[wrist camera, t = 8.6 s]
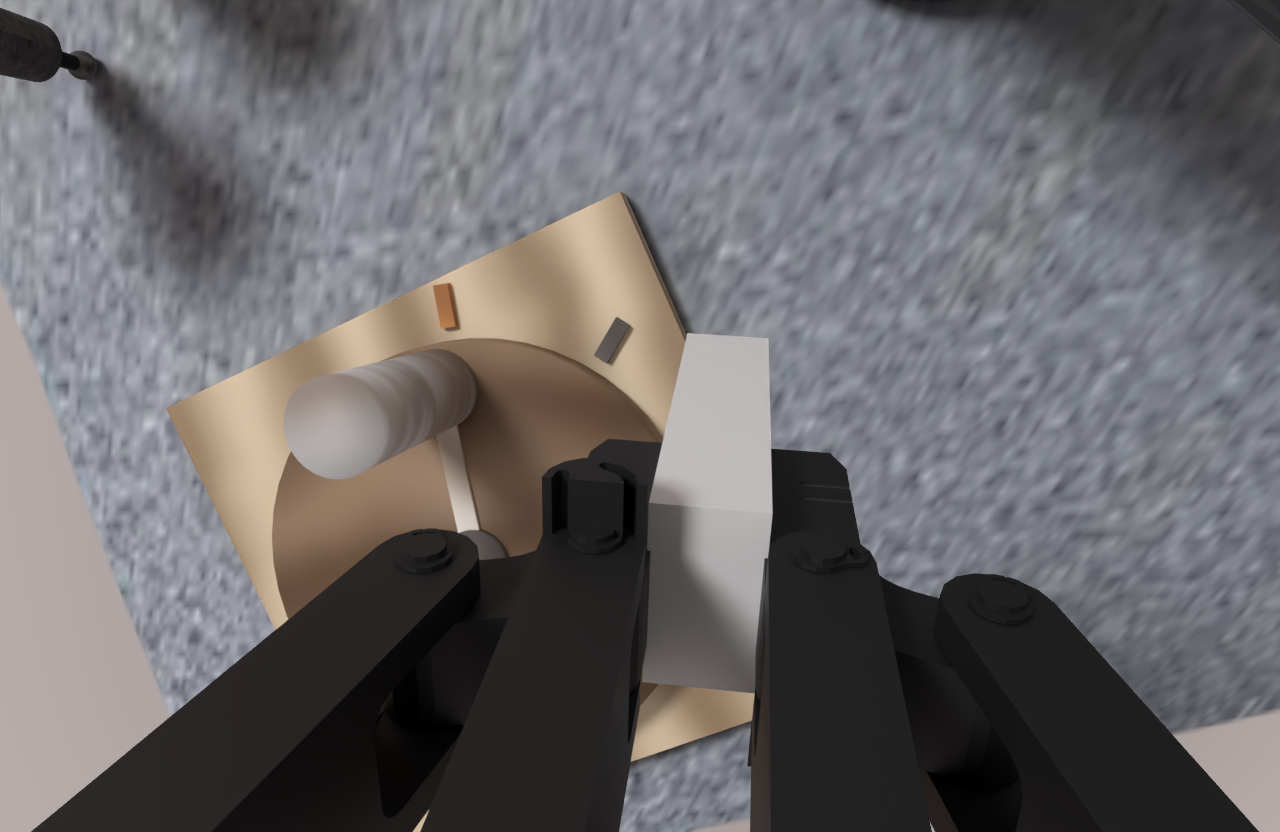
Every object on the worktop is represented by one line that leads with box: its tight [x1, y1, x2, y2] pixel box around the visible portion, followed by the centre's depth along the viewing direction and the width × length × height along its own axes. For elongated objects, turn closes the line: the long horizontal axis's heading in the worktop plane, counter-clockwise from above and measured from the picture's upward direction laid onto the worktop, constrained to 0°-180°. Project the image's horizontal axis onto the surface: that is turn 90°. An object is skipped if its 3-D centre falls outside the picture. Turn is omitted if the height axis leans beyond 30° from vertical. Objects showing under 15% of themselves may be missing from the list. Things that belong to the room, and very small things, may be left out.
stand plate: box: [166, 192, 755, 832], centre depth 45 cm, size 25×25×2 cm
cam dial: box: [272, 338, 663, 706], centre depth 38 cm, size 20×20×12 cm
